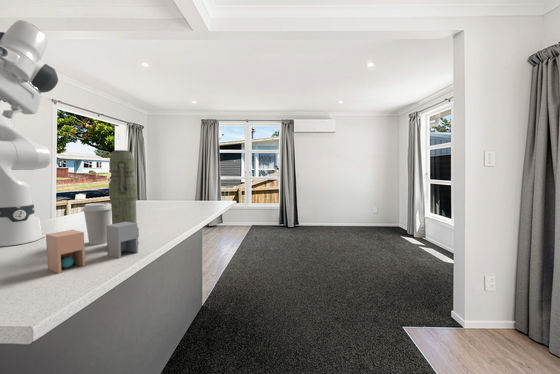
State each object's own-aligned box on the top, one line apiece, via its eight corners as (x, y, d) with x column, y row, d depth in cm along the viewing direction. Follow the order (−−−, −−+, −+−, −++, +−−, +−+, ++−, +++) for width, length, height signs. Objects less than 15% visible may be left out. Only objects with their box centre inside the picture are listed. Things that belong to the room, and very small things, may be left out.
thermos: (136, 239, 106) (133, 152, 104) (141, 246, 96) (137, 150, 94) (110, 243, 101) (106, 151, 98) (112, 250, 91) (108, 149, 89)
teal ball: (57, 268, 75) (56, 257, 75) (70, 264, 78) (70, 254, 78) (63, 270, 73) (62, 259, 73) (76, 266, 76) (75, 255, 76)
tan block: (47, 269, 74) (45, 234, 74) (74, 262, 80) (72, 229, 79) (58, 273, 71) (56, 237, 71) (85, 265, 77) (83, 232, 76)
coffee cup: (99, 246, 96) (97, 205, 95) (77, 245, 98) (75, 205, 97) (119, 239, 105) (118, 202, 104) (99, 238, 107) (98, 202, 106)
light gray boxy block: (107, 255, 87) (106, 225, 86) (126, 249, 92) (125, 221, 91) (119, 258, 83) (117, 227, 83) (138, 252, 89) (137, 223, 88)
